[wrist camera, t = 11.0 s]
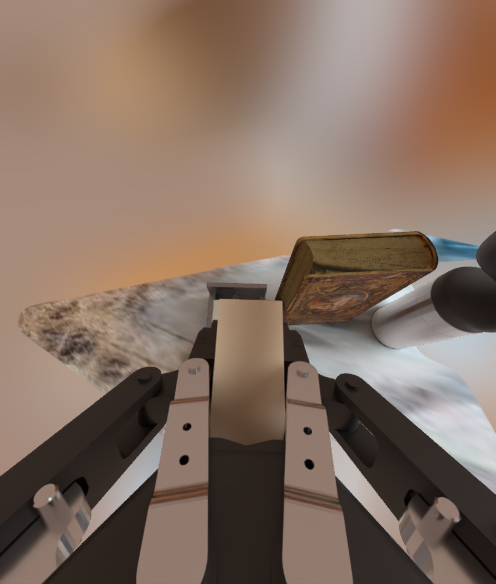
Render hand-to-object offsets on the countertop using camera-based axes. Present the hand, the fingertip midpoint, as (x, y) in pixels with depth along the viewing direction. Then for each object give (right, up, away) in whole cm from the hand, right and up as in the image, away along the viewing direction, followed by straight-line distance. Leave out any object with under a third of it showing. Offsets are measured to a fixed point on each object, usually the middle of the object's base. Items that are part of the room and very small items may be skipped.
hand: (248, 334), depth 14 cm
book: (+14, -2, +37) cm, 40 cm away
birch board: (0, -9, +16) cm, 19 cm away
